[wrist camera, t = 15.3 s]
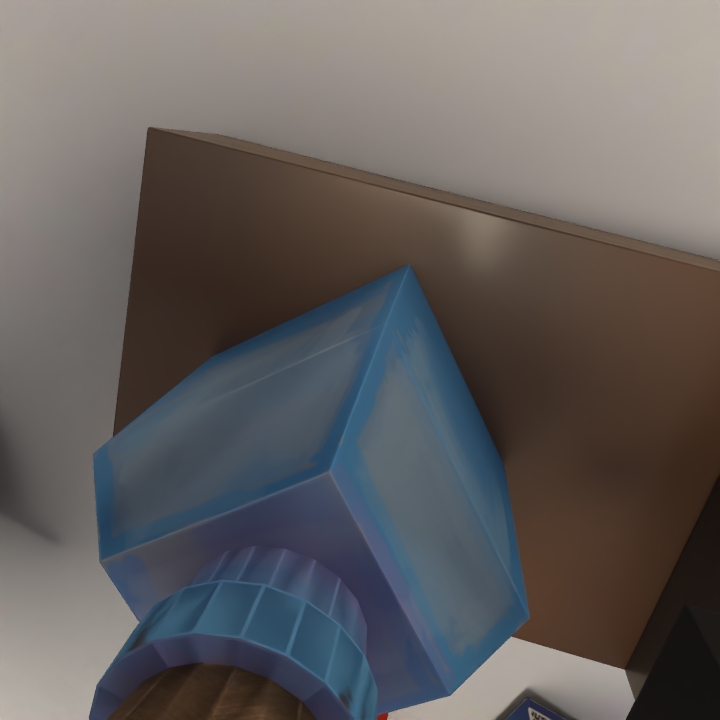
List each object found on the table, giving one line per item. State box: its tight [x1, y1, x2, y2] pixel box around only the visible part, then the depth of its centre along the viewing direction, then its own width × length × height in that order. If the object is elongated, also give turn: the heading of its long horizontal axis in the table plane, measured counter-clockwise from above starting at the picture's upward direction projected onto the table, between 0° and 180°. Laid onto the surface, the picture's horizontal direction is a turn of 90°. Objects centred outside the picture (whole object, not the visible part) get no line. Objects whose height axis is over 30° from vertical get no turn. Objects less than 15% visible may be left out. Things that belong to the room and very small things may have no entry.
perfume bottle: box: [89, 264, 530, 720], centre depth 12 cm, size 6×6×12 cm
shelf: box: [113, 127, 720, 700], centre depth 18 cm, size 18×12×8 cm, turn 77°
